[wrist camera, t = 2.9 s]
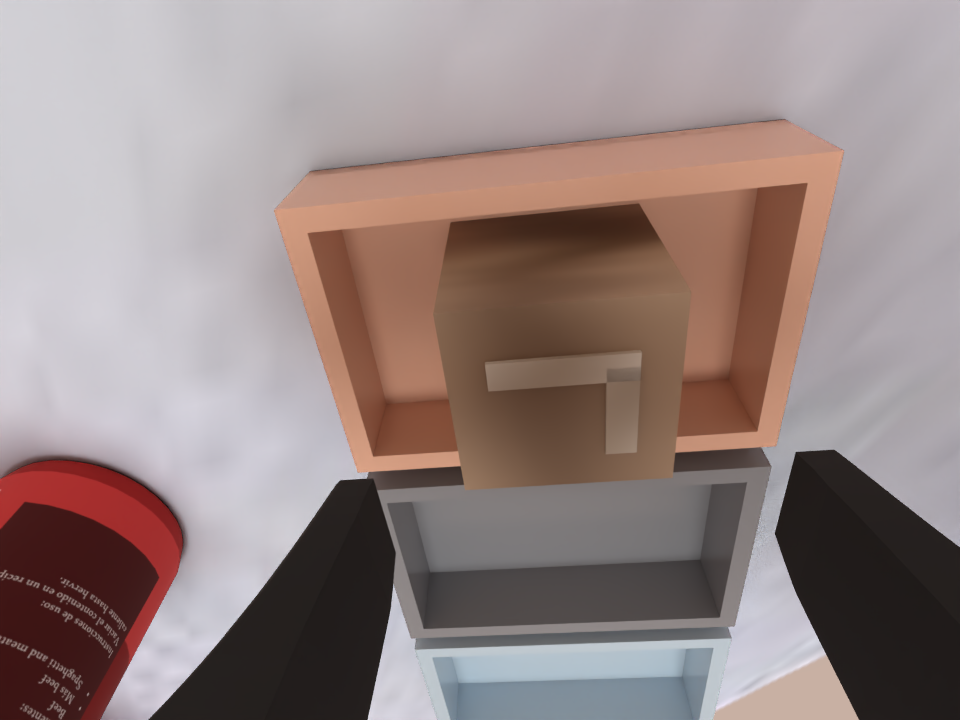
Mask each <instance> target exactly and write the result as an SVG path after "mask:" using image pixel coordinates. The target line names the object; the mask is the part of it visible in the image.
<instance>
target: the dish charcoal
mask: <svg viewBox="0 0 960 720" xmlns="http://www.w3.org/2000/svg"><path fill="white" fill-rule="evenodd" d="M770 471H771V465H770V463H769V461H768V459H767V458H766V456H765V454H764V452H763V450H762V448H761V447H756V448H740V449H724V450H708V451H692V452H676V453H675V460H674V470H673V478H663V479H646V480H629V481H612V482H595V483H579V484H562V485H545V486H528V487H511V488H494V489H478V490H465V487H464V481H463V476H462V470H461V466H454V467H438V468H423V469H407V470H391V471H375V472H369V473H368V477H367V479H371V478H374V482H375V485H376V488H377V492H378V495H379V498H380V502H381V505H382V508H383V512H384V515H385V518H386V521H387V525H388V528H389V531H390V535H391V538H392V541H393V545H394V548H395V551H396V558H395V569H394V581H393V583H394V587H395V590H396V593H397V596H398V599H399V602H400V605H401V608H402V612H403V615H404V618H405V621H406V624H407V627H408V630H409V633H410V636H411V638H437V637H464V636H490V635H517V634H544V633H570V632H597V631H624V630H650V629H677V628H704V627H730V626H735V622H736V618H737V614H738V609H739V605H740V601H741V596H742V592H743V588H744V583H745V579H746V575H747V570H748V566H749V562H750V557H751V553H752V549H753V544H754V540H755V536H756V531H757V527H758V523H759V518H760V514H761V510H762V505H763V501H764V497H765V492H766V488H767V484H768V479H769V475H770Z"/></svg>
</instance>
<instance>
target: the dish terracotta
mask: <svg viewBox="0 0 960 720" xmlns="http://www.w3.org/2000/svg"><path fill="white" fill-rule="evenodd" d="M843 154H844V150H842V149H840V148H838V147H836V146H834V145H832V144H830V143H829V142H827V141H825V140H823V139H821V138H819V137H817V136H815V135H813V134H812V133H810V132H808V131H806V130H804V129H802V128H800V127H798V126H796V125H794V124H793V123H791V122H789V121H787V120H785V119H783V120H774V121H765V122H756V123H746V124H737V125H728V126H719V127H710V128H701V129H692V130H683V131H674V132H664V133H655V134H646V135H637V136H628V137H619V138H610V139H601V140H592V141H582V142H573V143H564V144H555V145H546V146H537V147H528V148H519V149H509V150H500V151H491V152H482V153H473V154H464V155H455V156H446V157H437V158H427V159H418V160H409V161H400V162H391V163H382V164H373V165H364V166H355V167H345V168H336V169H327V170H318V171H310V172H309V173H308V174H307V175H306V176H305V177H304V178H303V180H302V181H301V182H300V183H299V184H298V185H297V186H296V187H295V188H294V189H293V190H292V191H291V192H290V193H289V195H288V196H287V197H286V198H285V199H284V200H283V201H282V202H281V203H280V204H279V205H278V206H277V207H276V208H275V210H274V212H275V215H276V218H277V222H278V225H279V228H280V231H281V234H282V237H283V240H284V243H285V247H286V250H287V253H288V256H289V259H290V262H291V265H292V268H293V271H294V275H295V278H296V281H297V284H298V287H299V290H300V293H301V296H302V300H303V303H304V306H305V309H306V312H307V315H308V318H309V321H310V324H311V328H312V331H313V334H314V337H315V340H316V343H317V346H318V349H319V353H320V356H321V359H322V362H323V365H324V368H325V371H326V374H327V378H328V381H329V384H330V387H331V390H332V393H333V396H334V399H335V402H336V406H337V409H338V412H339V415H340V418H341V421H342V424H343V427H344V431H345V434H346V437H347V440H348V443H349V446H350V449H351V452H352V456H353V459H354V462H355V465H356V468H357V471H358V473H359V472H375V471H391V470H407V469H423V468H438V467H454V466H461V465H460V459H459V454H458V448H457V443H456V437H455V432H454V426H453V421H452V415H451V410H450V404H449V399H448V393H447V388H446V382H445V377H444V371H443V366H442V360H441V355H440V349H439V344H438V338H437V333H436V327H435V322H434V316H433V311H434V306H435V301H436V296H437V291H438V285H439V280H440V275H441V270H442V264H443V259H444V254H445V249H446V244H447V238H448V233H449V228H450V223H451V222H458V221H468V220H478V219H488V218H498V217H508V216H518V215H528V214H538V213H548V212H558V211H568V210H578V209H588V208H598V207H608V206H618V205H628V204H638V203H639V204H640V206H641V208H642V209H643V211H644V213H645V214H646V216H647V218H648V219H649V221H650V223H651V224H652V226H653V228H654V229H655V231H656V233H657V234H658V236H659V238H660V239H661V241H662V243H663V244H664V246H665V248H666V250H667V251H668V253H669V255H670V256H671V258H672V260H673V261H674V263H675V265H676V266H677V268H678V270H679V271H680V273H681V275H682V276H683V278H684V280H685V281H686V283H687V285H688V286H689V288H690V290H691V301H690V311H689V321H688V331H687V341H686V351H685V361H684V370H683V380H682V390H681V400H680V410H679V420H678V430H677V440H676V450H675V453H676V452H692V451H708V450H724V449H740V448H756V447H771V446H776V444H777V440H778V436H779V431H780V427H781V423H782V418H783V414H784V410H785V405H786V401H787V397H788V392H789V388H790V384H791V379H792V375H793V371H794V366H795V362H796V358H797V353H798V349H799V345H800V340H801V336H802V332H803V327H804V323H805V319H806V314H807V310H808V306H809V301H810V297H811V293H812V288H813V284H814V279H815V275H816V271H817V266H818V262H819V258H820V253H821V249H822V245H823V240H824V236H825V232H826V227H827V223H828V219H829V214H830V210H831V206H832V201H833V197H834V193H835V188H836V184H837V180H838V175H839V171H840V167H841V162H842V158H843Z"/></svg>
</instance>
